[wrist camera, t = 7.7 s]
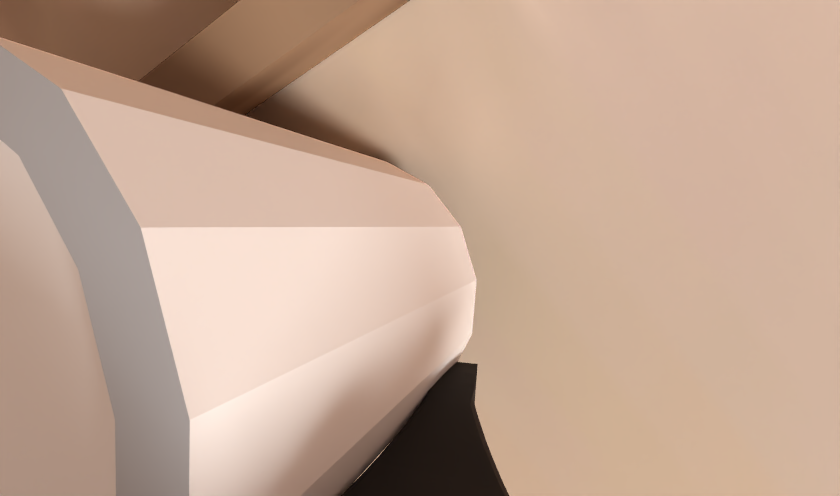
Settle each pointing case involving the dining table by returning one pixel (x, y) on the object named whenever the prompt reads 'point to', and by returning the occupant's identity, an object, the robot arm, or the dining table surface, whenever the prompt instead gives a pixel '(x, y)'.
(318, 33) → the corner stop
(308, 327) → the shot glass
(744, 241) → the dining table surface
